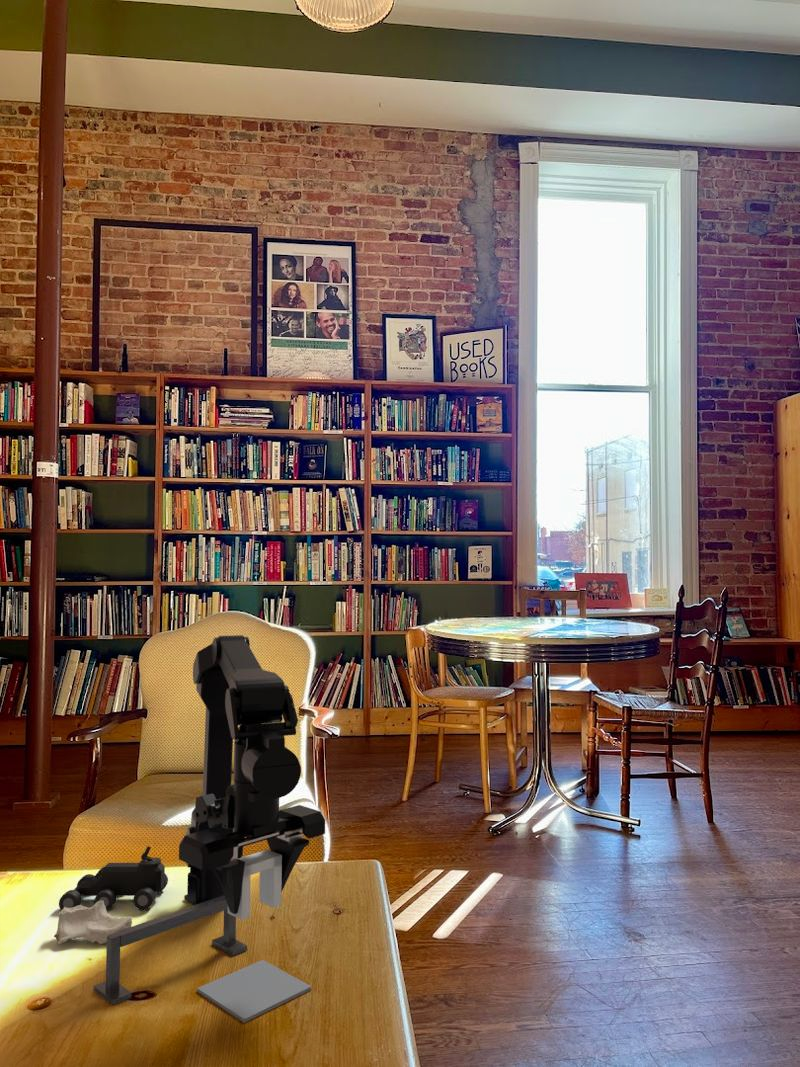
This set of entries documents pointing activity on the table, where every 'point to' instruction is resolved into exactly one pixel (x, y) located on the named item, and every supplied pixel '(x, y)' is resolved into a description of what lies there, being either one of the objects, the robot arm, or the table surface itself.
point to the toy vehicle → (121, 883)
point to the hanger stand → (227, 942)
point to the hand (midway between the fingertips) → (254, 905)
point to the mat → (253, 990)
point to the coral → (89, 923)
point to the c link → (261, 881)
